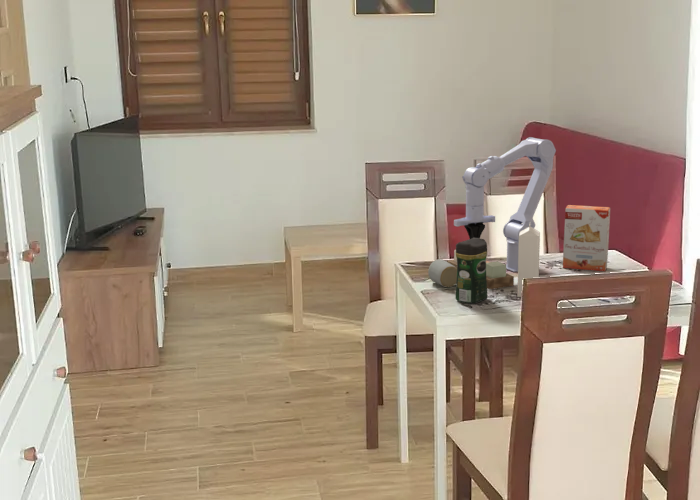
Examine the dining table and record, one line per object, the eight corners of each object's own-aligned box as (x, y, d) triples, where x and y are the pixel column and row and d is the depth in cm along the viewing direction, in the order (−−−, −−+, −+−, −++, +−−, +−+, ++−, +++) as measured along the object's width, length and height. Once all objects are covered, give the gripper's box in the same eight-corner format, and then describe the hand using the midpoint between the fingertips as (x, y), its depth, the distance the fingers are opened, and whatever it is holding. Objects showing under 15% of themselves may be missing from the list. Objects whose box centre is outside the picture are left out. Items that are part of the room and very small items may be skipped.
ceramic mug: (440, 289, 266) (441, 265, 264) (427, 283, 273) (427, 260, 271) (469, 285, 270) (470, 262, 269) (455, 279, 278) (456, 256, 276)
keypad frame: (469, 265, 293) (469, 257, 292) (513, 285, 268) (513, 276, 268) (447, 269, 290) (447, 260, 289) (489, 289, 265) (489, 280, 265)
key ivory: (467, 259, 290) (467, 248, 289) (474, 263, 286) (474, 251, 285) (454, 261, 288) (454, 250, 287) (461, 265, 284) (461, 253, 283)
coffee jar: (469, 293, 261) (470, 234, 257) (491, 298, 256) (492, 238, 252) (450, 301, 254) (450, 240, 250) (472, 306, 249) (473, 244, 245)
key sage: (497, 273, 273) (497, 261, 272) (506, 277, 268) (506, 264, 268) (483, 275, 271) (484, 263, 270) (492, 279, 267) (492, 266, 266)
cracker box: (562, 268, 287) (564, 207, 282) (565, 264, 292) (567, 204, 287) (605, 272, 281) (608, 209, 276) (607, 267, 287) (610, 206, 282)
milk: (517, 297, 257) (518, 225, 252) (518, 291, 263) (519, 221, 257) (538, 298, 255) (539, 225, 250) (538, 292, 261) (540, 221, 256)
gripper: (487, 200, 283) (486, 240, 286) (449, 204, 277) (448, 245, 280) (499, 204, 276) (498, 244, 280) (460, 208, 271) (460, 250, 274)
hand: (474, 245), depth 280 cm, fingers closed
